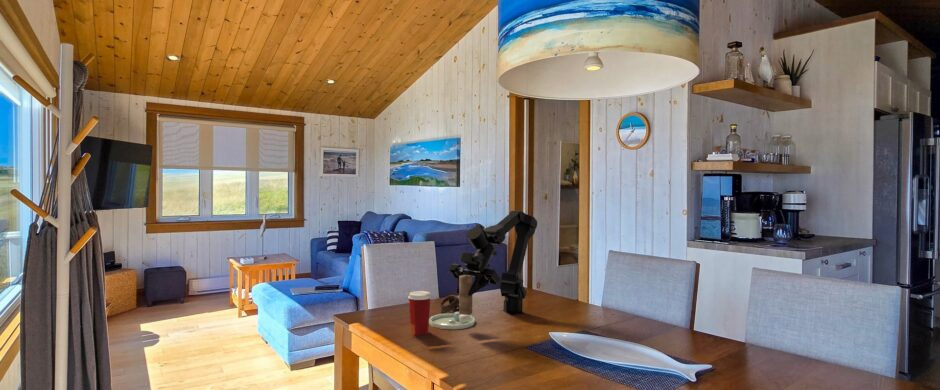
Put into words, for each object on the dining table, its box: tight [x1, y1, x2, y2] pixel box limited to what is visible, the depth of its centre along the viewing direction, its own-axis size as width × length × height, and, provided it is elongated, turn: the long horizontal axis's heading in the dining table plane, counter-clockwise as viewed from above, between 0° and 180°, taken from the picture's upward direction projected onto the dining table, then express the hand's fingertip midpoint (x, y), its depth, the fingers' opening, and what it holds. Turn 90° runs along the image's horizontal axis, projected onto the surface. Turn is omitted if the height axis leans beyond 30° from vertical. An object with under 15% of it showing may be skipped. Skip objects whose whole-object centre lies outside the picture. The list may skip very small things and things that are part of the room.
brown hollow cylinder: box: [440, 294, 459, 314], centre depth 193 cm, size 12×10×8 cm
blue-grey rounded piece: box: [453, 311, 461, 321], centre depth 182 cm, size 4×4×2 cm
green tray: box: [429, 312, 476, 330], centre depth 178 cm, size 16×16×2 cm
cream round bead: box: [459, 314, 470, 324], centre depth 178 cm, size 4×4×2 cm
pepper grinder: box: [458, 275, 474, 315], centre depth 169 cm, size 4×4×13 cm
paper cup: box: [407, 290, 432, 338], centre depth 166 cm, size 8×8×14 cm
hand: (463, 294), depth 168 cm, fingers closed on pepper grinder, 4 cm apart
